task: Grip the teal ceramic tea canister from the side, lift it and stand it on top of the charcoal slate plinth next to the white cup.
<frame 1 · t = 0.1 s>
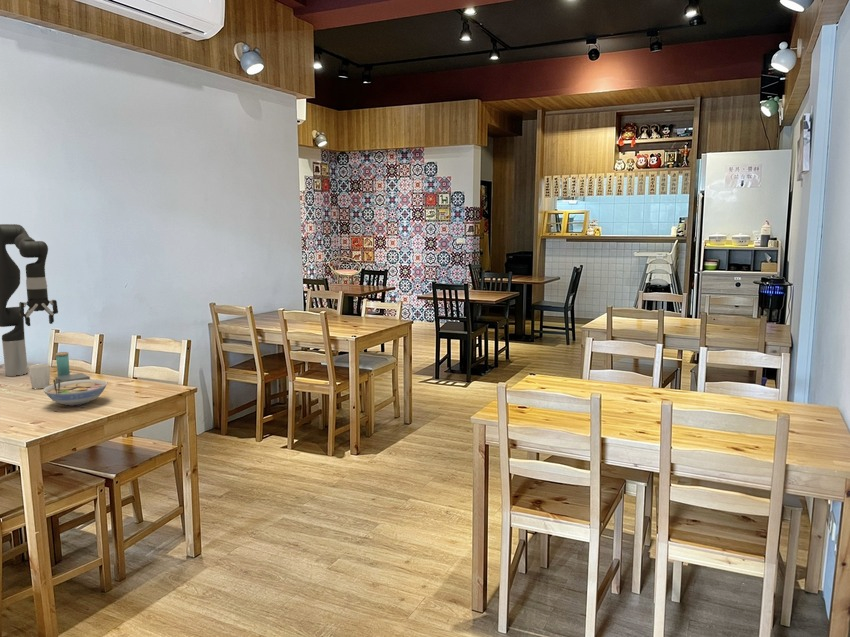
hand: (40, 324, 270), 29 cm above the table, tool pointing down, fingers open, 8 cm apart
tea canister: (64, 380, 293), on the table
ramen bowl: (77, 404, 252), on the table
slate plinth: (73, 384, 285), on the table
white cup: (40, 387, 279), on the table
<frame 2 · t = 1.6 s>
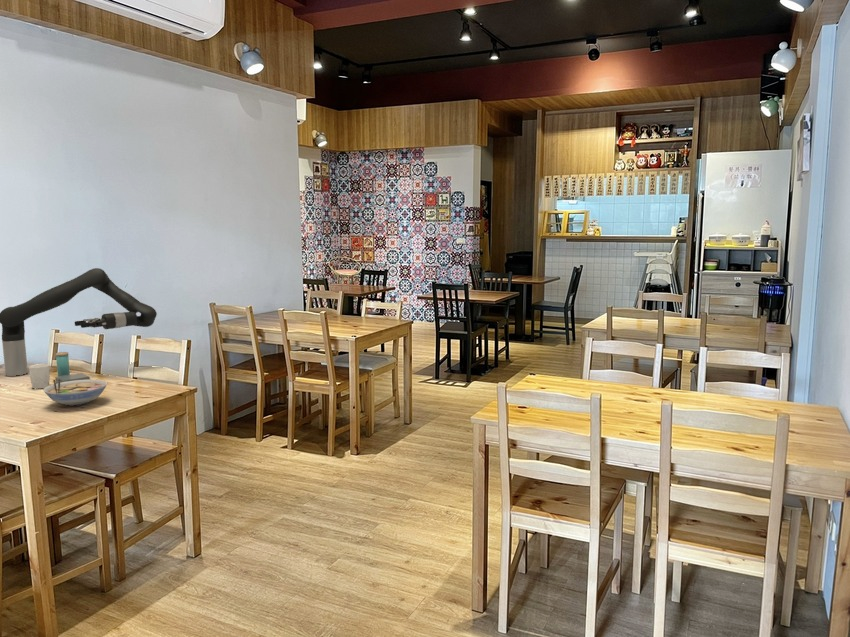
hand: (77, 324, 292), 26 cm above the table, tool horizontal, fingers open, 8 cm apart
nothing on the table moved.
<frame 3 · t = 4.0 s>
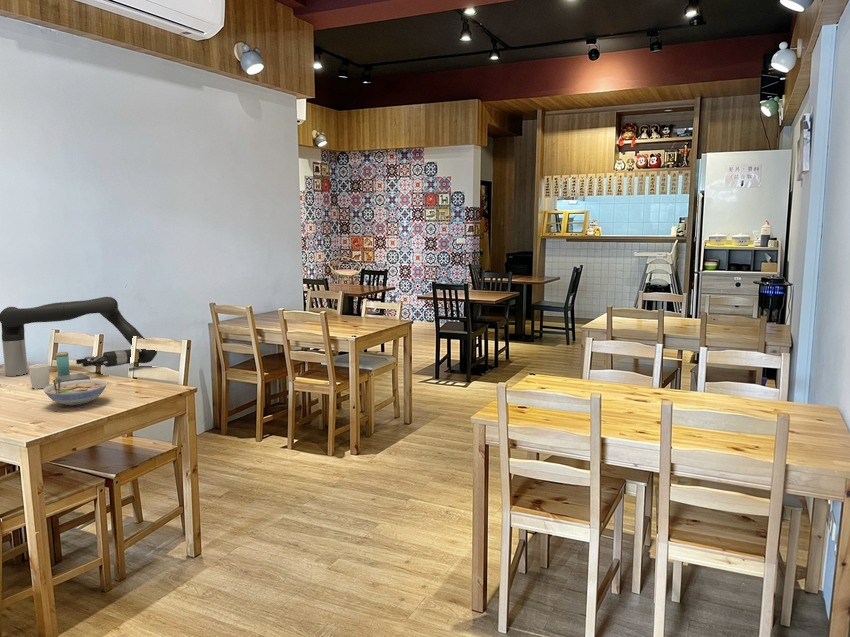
hand: (79, 363, 297), 7 cm above the table, tool horizontal, fingers open, 8 cm apart
nothing on the table moved.
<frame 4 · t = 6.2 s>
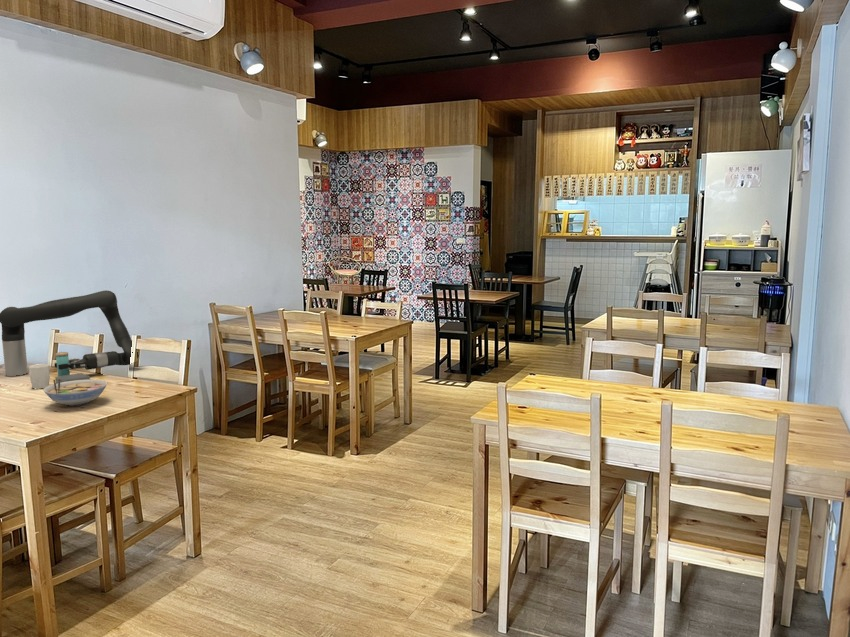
hand: (56, 366, 290), 7 cm above the table, tool horizontal, fingers closed on tea canister, 5 cm apart
tea canister: (64, 380, 293), on the table, touching gripper
everything else where it was.
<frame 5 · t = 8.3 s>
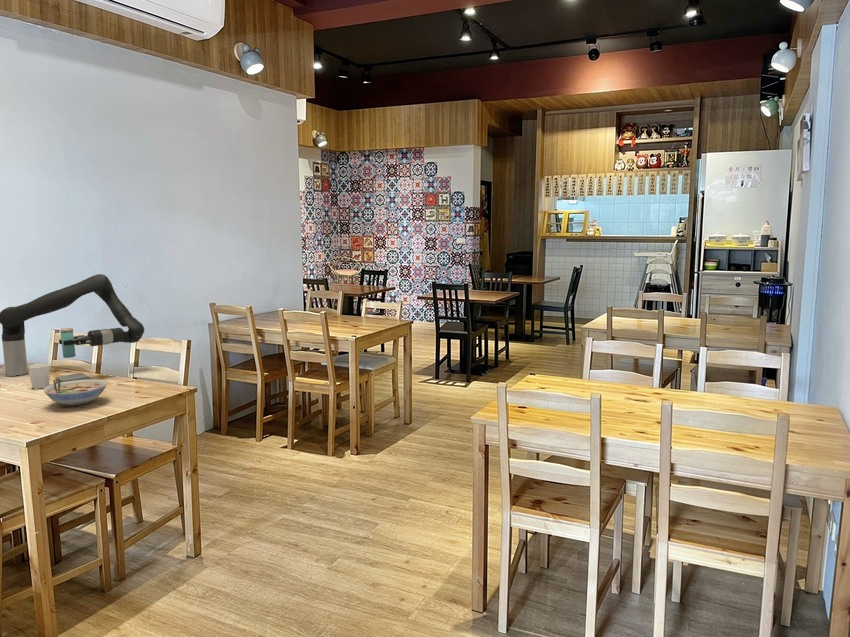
hand: (61, 342, 284), 19 cm above the table, tool horizontal, fingers closed on tea canister, 5 cm apart
tea canister: (69, 356, 287), point 12 cm above the table, touching gripper
everything else where it was.
when the fingers open (12 cm above the table, at t = 10.4 s): tea canister drops 1 cm, resting on slate plinth.
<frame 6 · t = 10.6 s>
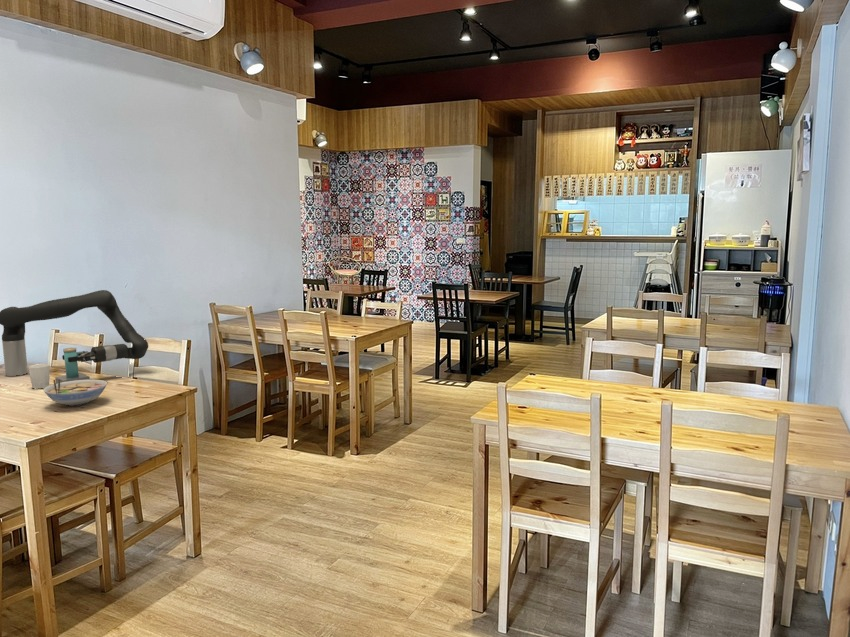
hand: (65, 358, 281), 12 cm above the table, tool horizontal, fingers open, 7 cm apart
tea canister: (72, 376, 284), point 4 cm above the table, touching slate plinth
everything else where it was.
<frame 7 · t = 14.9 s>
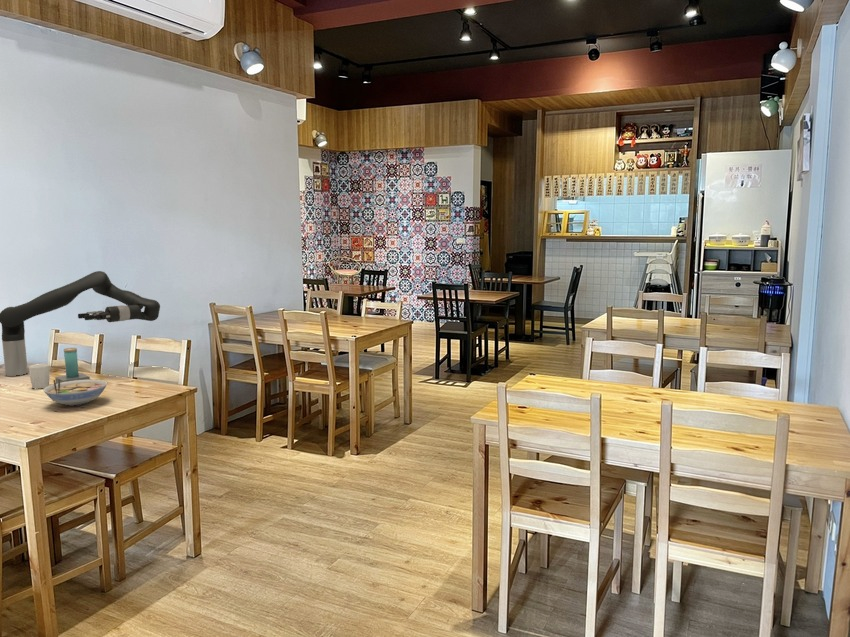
hand: (81, 317, 288), 30 cm above the table, tool horizontal, fingers open, 8 cm apart
nothing on the table moved.
at the end: tea canister inside the target area on the slate plinth (0.1 cm from its centre), point 3.5 cm above the slate plinth's base; tea canister tilted 0°; the gripper is holding nothing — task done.
